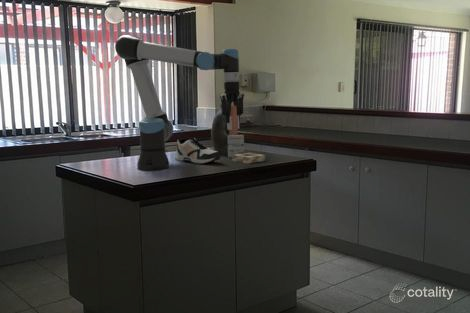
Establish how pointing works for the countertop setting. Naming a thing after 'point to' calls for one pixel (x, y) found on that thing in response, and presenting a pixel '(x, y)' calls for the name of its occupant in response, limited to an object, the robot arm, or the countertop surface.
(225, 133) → the sculpture
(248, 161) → the socket
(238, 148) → the ink box
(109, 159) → the countertop surface
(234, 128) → the peg
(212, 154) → the running shoe
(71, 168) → the countertop surface
